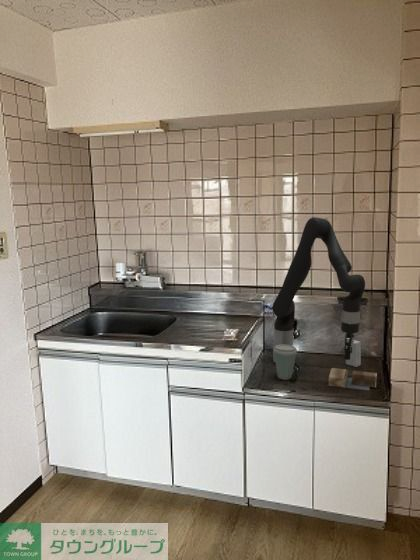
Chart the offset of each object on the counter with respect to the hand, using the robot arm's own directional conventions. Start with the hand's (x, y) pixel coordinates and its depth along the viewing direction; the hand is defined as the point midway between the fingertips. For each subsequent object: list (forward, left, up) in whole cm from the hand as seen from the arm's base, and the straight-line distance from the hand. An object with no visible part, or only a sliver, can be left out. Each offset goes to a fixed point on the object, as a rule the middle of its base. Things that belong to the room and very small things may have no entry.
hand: (348, 356), depth 202 cm
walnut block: (+2, 0, -10) cm, 10 cm away
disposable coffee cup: (-28, -2, -13) cm, 31 cm away
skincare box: (0, +23, -13) cm, 27 cm away
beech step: (-4, 0, -13) cm, 13 cm away
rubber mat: (+4, 0, -13) cm, 13 cm away
